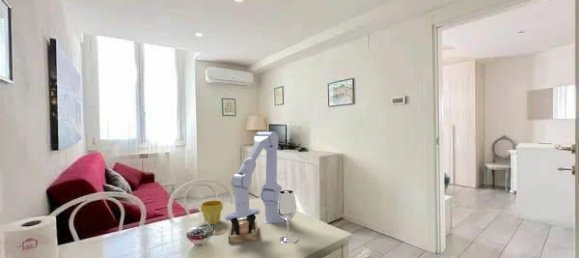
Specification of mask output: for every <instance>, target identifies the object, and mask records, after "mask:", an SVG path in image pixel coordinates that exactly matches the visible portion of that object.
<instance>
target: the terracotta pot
mask: <svg viewBox="0 0 579 258" xmlns="http://www.w3.org/2000/svg"><path fill="white" fill-rule="evenodd" d="M242 234H249V222H248V221H241V222H239V235H242Z"/></svg>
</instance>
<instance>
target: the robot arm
mask: <svg viewBox="0 0 579 258" xmlns="http://www.w3.org/2000/svg"><path fill="white" fill-rule="evenodd" d="M253 142H254V143H253V146H252V148H251V151H250V153H249V155H248V157H246V158H245V159H244V160H243V162H242V164H241V165H240V168H239V170H238V171H237V173H235V174H234V175H233V176H232V178H231V181H230V185H231V186H232V188H233V189H232V190H233V191H234V203H235V204H234V205H235V206H234V207H235V211H234V212H231V213H229V214H225V215H224V220H225V221H226V222H229V221H230V224H232V225H233V227H234V229H235V233H236V235H239V221H238V219H237V218H241V217H246V216H247V221H248V222H249V233H251V231H252V226H253V223H254V221H256V220H257V217H256V215H260V209H259V208H253V209H252V208H251V209H250V197H249V195H250V193H249V187H250V185H251V184H252V178H253V177H252V176H253V173H254V172H255V169H256V167H257V162H256V161H257V159H258V157H259V156H260V154H261V152H262V151H263V149H264V150H265V151H266V156H265V157H266V159H265V183H264V184H263V185H262V186H261V191H260V196H259V197H260V199H261V201H262V203H263V204H264V217H263V221H264V224H265V225H267V224H276V223H284V222H285V221H286V220H285V219H283V218H281V217H280V215H279V214H278V200H279V194H280V191H283V190H282V186H281V185H280V184H279V183H278V180H277V179H278V175H277V173H278V148H279V135H278V133H277V132H276V131H257V132H256V133H255V135H254V138H253ZM285 223H286V222H285Z"/></svg>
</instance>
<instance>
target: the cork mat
mask: <svg viewBox="0 0 579 258" xmlns="http://www.w3.org/2000/svg"><path fill="white" fill-rule="evenodd" d="M214 230H215V233H214V235H213V236H221V235H223V234H225V233H226V229H225V228H215V229H214Z"/></svg>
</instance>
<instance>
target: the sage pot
mask: <svg viewBox="0 0 579 258" xmlns="http://www.w3.org/2000/svg"><path fill="white" fill-rule="evenodd" d="M237 219H238V221H239V222H241V221H247V216H246V217H241V218H237Z"/></svg>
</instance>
